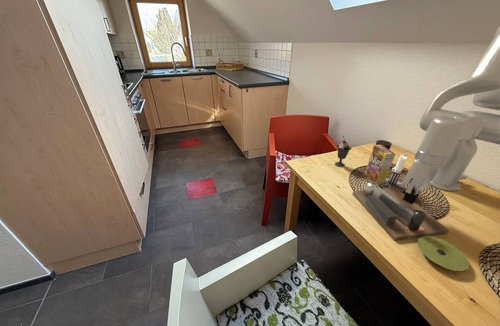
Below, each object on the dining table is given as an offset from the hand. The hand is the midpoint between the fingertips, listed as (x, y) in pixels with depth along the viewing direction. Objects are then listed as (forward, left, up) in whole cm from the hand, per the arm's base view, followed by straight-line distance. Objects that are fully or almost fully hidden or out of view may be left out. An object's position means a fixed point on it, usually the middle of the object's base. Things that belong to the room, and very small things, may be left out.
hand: (408, 201), depth 72 cm
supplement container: (-15, -35, -5) cm, 39 cm away
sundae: (+7, -34, -5) cm, 35 cm away
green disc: (+5, +18, -5) cm, 19 cm away
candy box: (-2, -20, -5) cm, 21 cm away
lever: (+7, 0, -2) cm, 8 cm away
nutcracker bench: (+4, 0, -4) cm, 6 cm away
